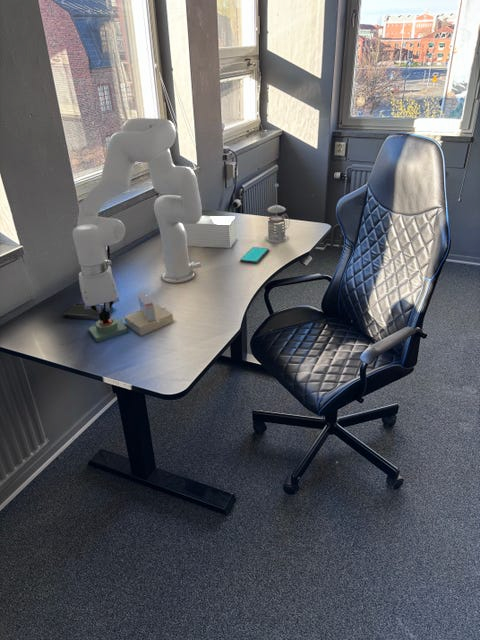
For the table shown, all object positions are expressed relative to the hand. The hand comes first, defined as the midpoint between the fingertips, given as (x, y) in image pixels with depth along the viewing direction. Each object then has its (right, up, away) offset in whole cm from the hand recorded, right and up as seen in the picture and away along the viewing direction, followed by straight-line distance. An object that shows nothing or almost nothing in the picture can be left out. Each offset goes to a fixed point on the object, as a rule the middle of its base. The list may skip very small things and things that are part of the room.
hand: (105, 321), depth 144 cm
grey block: (+12, +2, +4) cm, 13 cm away
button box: (0, -3, +2) cm, 4 cm away
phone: (-10, +3, +13) cm, 17 cm away
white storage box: (+24, +36, +69) cm, 81 cm away
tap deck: (+13, -1, +6) cm, 14 cm away
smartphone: (+48, +27, +51) cm, 75 cm away
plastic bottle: (-11, +17, +38) cm, 43 cm away
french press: (+60, +37, +68) cm, 98 cm away
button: (0, -1, +1) cm, 2 cm away
